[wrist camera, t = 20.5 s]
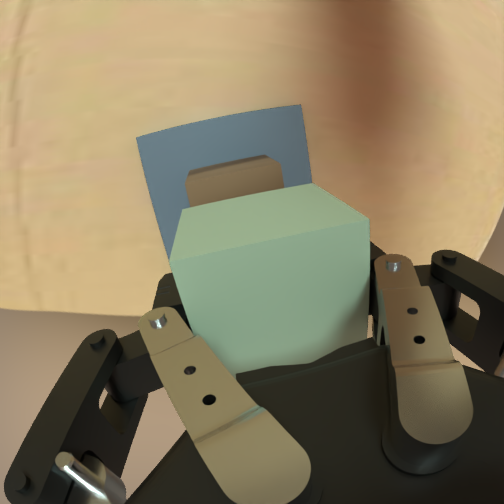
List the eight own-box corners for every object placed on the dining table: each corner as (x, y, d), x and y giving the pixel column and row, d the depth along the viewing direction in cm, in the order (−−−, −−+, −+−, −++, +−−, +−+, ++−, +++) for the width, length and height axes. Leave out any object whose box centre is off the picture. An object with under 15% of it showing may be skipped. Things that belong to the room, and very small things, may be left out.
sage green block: (182, 209, 12) (168, 261, 8) (312, 182, 13) (369, 219, 8) (212, 318, 15) (217, 397, 10) (322, 293, 15) (364, 360, 10)
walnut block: (189, 170, 21) (184, 183, 17) (264, 154, 22) (280, 163, 17) (206, 239, 24) (206, 269, 19) (276, 224, 24) (293, 250, 19)
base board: (138, 136, 21) (136, 137, 20) (297, 105, 21) (300, 104, 20) (177, 278, 26) (176, 284, 25) (315, 248, 26) (319, 252, 25)
